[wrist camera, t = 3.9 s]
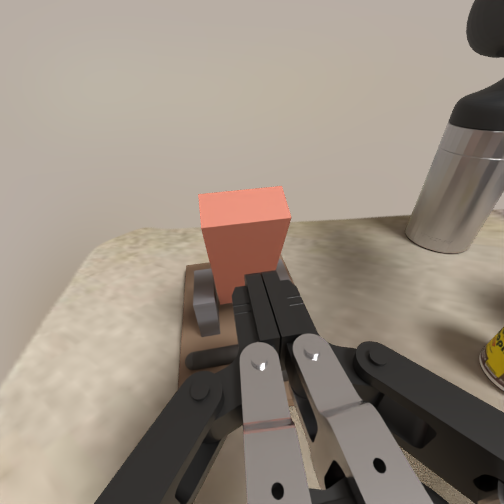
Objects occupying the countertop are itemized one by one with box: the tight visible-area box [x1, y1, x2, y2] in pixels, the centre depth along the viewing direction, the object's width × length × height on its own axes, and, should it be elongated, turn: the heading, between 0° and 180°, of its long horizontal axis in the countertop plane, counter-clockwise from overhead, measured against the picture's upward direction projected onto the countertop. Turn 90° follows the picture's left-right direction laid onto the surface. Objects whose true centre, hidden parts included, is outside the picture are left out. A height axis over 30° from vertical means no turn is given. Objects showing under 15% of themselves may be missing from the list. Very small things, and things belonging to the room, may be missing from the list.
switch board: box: [178, 254, 295, 407], centre depth 27 cm, size 20×14×6 cm
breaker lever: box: [198, 186, 291, 305], centre depth 21 cm, size 2×5×15 cm, turn 100°
